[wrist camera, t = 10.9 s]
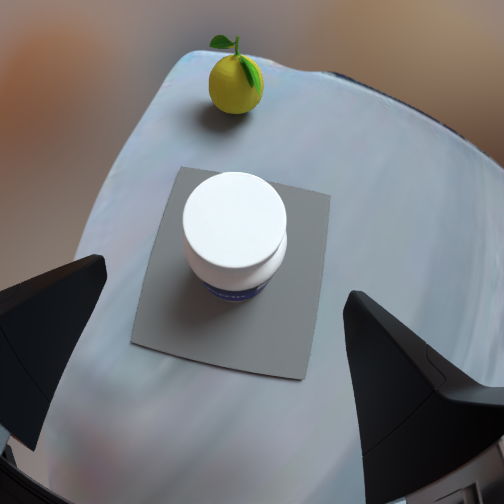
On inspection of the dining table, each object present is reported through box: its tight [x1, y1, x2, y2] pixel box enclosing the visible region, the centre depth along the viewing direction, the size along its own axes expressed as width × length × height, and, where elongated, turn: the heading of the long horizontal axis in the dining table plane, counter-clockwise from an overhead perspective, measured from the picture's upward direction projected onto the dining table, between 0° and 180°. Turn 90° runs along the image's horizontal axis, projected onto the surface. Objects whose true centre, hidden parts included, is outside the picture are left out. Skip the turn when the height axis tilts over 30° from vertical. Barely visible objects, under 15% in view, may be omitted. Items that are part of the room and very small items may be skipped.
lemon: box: [209, 35, 264, 114], centre depth 22 cm, size 7×6×10 cm
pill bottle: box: [182, 172, 287, 302], centre depth 17 cm, size 6×6×10 cm
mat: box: [130, 167, 331, 380], centre depth 22 cm, size 16×14×1 cm
